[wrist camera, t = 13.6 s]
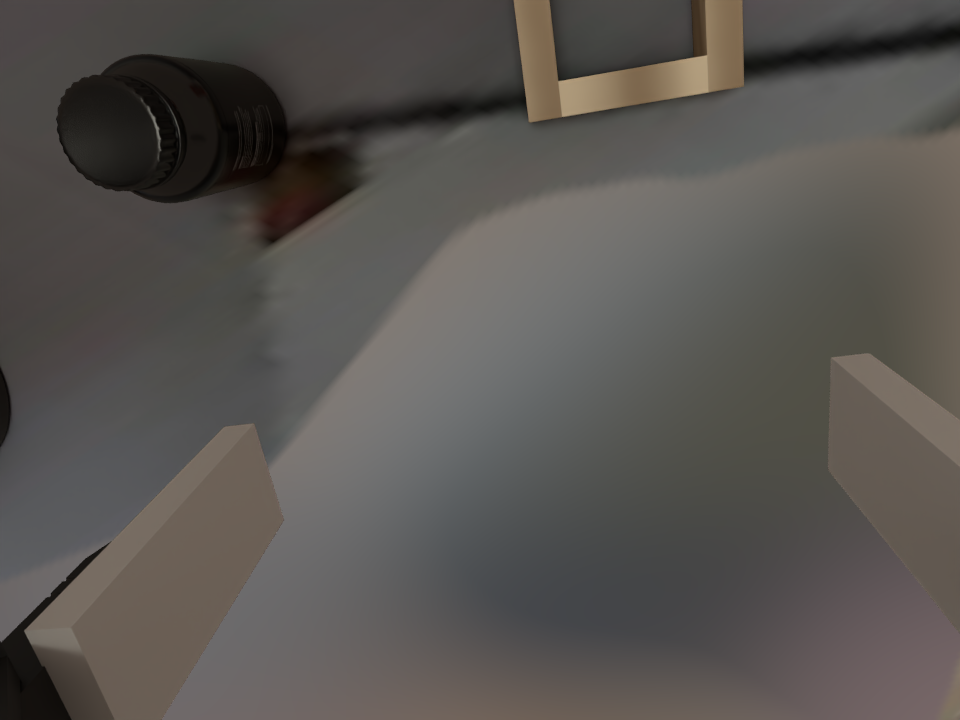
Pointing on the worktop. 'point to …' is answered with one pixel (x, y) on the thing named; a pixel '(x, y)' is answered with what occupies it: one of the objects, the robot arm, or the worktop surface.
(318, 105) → the worktop surface
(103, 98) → the supplement bottle
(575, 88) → the oak holder
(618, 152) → the worktop surface
